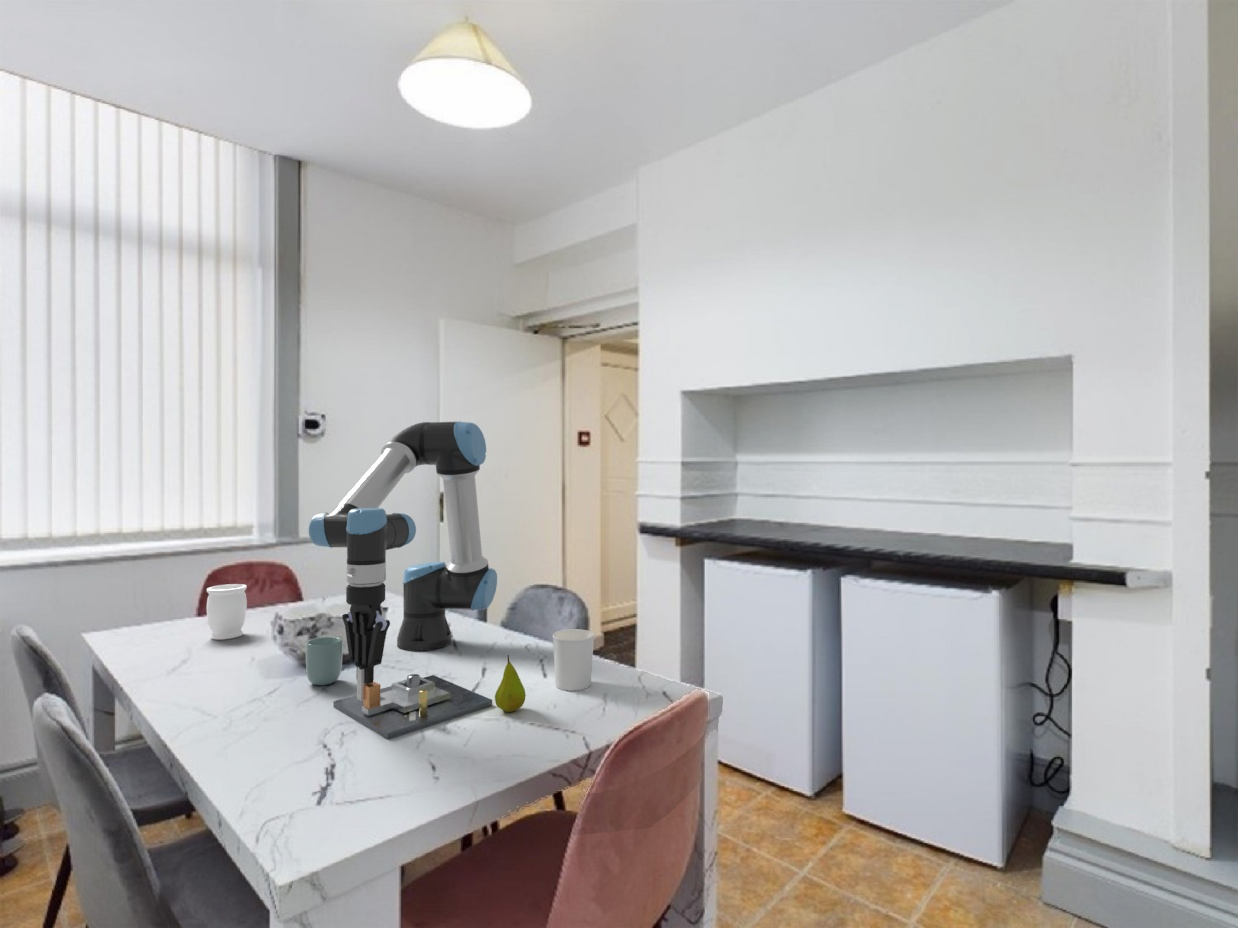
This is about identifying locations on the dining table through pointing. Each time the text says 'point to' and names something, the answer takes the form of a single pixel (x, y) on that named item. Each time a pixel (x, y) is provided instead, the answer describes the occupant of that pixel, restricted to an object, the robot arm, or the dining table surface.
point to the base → (402, 723)
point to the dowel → (422, 703)
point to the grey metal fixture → (399, 696)
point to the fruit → (510, 690)
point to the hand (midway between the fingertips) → (364, 697)
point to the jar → (226, 610)
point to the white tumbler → (573, 658)
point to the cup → (323, 660)
